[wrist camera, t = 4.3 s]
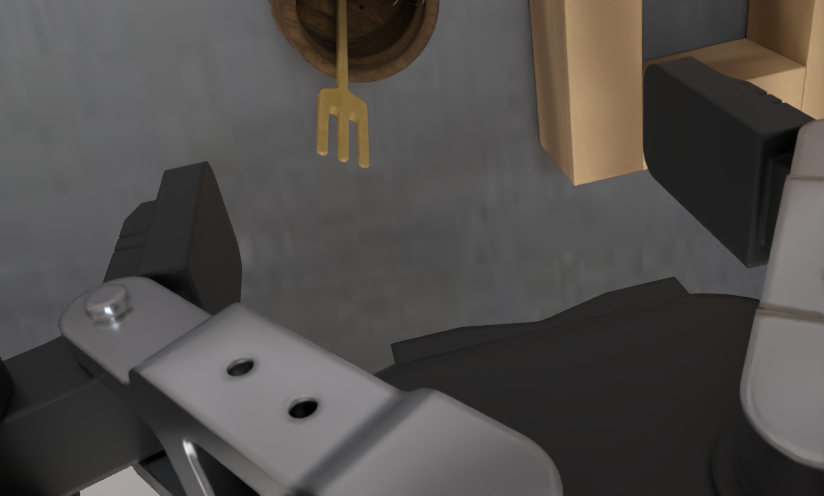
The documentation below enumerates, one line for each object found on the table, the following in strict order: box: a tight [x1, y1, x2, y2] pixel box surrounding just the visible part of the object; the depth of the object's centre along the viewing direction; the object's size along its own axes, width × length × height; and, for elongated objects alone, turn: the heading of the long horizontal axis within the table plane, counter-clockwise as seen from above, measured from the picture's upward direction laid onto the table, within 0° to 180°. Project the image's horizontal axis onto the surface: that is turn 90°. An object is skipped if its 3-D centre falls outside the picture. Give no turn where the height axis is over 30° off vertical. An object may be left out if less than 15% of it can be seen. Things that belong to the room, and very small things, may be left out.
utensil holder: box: [269, 0, 439, 168], centre depth 24 cm, size 6×6×12 cm
